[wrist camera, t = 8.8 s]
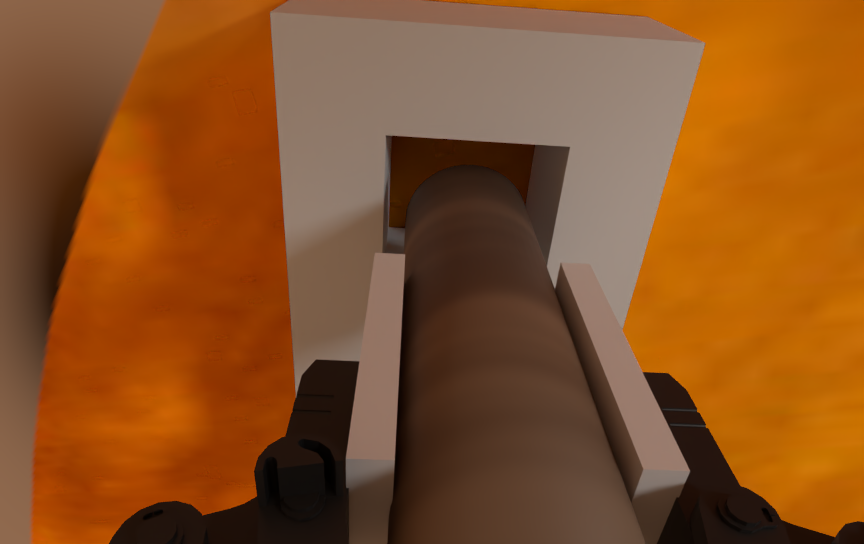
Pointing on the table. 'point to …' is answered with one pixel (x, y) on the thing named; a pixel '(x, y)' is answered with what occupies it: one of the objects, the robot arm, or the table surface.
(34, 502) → the table surface
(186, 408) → the table surface
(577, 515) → the dowel
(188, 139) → the table surface
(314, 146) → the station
